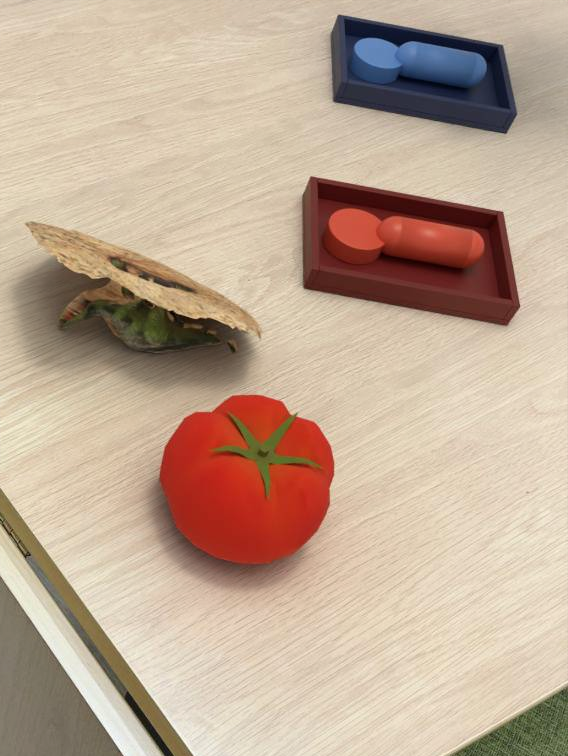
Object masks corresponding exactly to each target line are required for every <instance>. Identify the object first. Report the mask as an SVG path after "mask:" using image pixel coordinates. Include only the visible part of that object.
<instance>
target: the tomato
mask: <svg viewBox="0 0 568 756" xmlns="http://www.w3.org/2000/svg"><path fill="white" fill-rule="evenodd" d="M298 414H299V411H298V412H296V413H293V414H291V413H290V411H289V410H288V408H287V406H286V405H285V404H284V402H283V401H282V400H278V399H275V398H272V397H269V396H265V395H262V394H235V395H231V396H229V397H228V398H226V399H225V400H224V401H222V402H221V403H220V404H219V405H218V406H216V407H215V408H213V410H212V411H194V412H193V413H191V414H189V415H188V416H185V417H184V418H183V419H182V421H181V422H180V424H179V425H178V426H177V428H176V429H175V430H174V432H173V433H172V435H171V436H170V438H169V439H168V441H167V442H166V444H165V445H164V449H163V454H162V459H161V464H160V469H159V477H158V481H159V485H160V486H161V489H162V491H163V493H164V495H165V497H166V500H167V503H168V506H169V509H170V512H171V515H172V518H173V521H174V524H175V527H176V529H177V530H178V531H179V532H180V533H181V534H182V535H183V536H184V537H185V538H186V539H187V540H188V541H189V542H190V543H191V545H193V546H194V547H195V548H198V549H200V550H201V551H203V552H205V553H206V554H208V555H210V556H212V557H213V558H216V559H220V560H225V561H228V562H232V563H237V564H253V565H254V564H255V565H257V564H258V565H259V564H261V565H263V564H267V563H272V562H275V561H277V560H280V559H283V558H286V557H289V556H291V555H294V554H295V553H296V552H298V551H299V550H300V549H301V548H302V547H303V546H304V545H305V544H306V543H307V542H308V541H309V540H311V538H312V537H313V536H315V534H317V532H318V531H319V529H320V527H321V525H322V524H323V521H324V520H325V518H326V516H327V513H328V510H329V508H330V505H331V490H330V488H331V485H332V483H333V479H334V476H335V458H334V454H333V449H332V445H331V444H330V442H329V440H328V439H327V438H326V436H325V434H324V432H323V430H322V429H321V428H320V426H319V425H318V424H317V423H316V422H315V421H313V420H310V419H307V418H304V417H300V416H298Z"/></svg>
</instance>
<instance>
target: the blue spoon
mask: <svg viewBox="0 0 568 756" xmlns="http://www.w3.org/2000/svg"><path fill="white" fill-rule="evenodd" d="M348 65H349V68H350V70H351V71H352V72H353V73H354V74H355V75H356V76H357V77H359V78H361V79H363V80H365V81H367V82H371V83H376V84H387V83H391V82H393V81H395V80H396V79H397V77H398V75H400V76H403V77H407V78H413V79H418V80H423V81H429V82H434V83H439V84H445V85H450V86H456V87H461V88H470V87H473V86H475V85H477V84H478V83H480V82H481V80H482V79H483V78H484V76H485V74H486V70H487V65H486V61H485V59H484V58H483V57H482V56H481V55H480V54H477V53H473V52H468V51H463V50H457V49H452V48H447V47H441V46H436V45H431V44H425V43H420V42H407V43H405V44H403V45H401V46H400V47H399V48H398V47H397V46H396V45H394V44H392V43H390V42H388V41H385V40H382V39H377V38H365V39H361V40H359V41H358V42H357V43H356V44H355V46H354V49H353V51H352V54H351V56H350V58H349V61H348Z"/></svg>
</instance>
